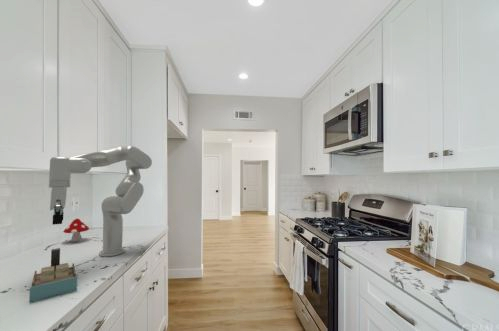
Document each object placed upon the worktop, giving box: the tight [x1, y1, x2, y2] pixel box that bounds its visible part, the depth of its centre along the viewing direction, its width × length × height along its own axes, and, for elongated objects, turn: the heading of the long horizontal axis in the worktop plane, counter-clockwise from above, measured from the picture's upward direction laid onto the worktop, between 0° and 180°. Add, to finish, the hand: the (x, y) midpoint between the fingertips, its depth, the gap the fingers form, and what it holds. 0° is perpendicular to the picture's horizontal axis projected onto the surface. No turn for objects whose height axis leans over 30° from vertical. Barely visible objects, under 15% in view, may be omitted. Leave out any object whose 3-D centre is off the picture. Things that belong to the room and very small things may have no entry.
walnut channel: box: [31, 263, 77, 287], centre depth 95 cm, size 14×13×4 cm
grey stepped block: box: [43, 247, 69, 271], centre depth 104 cm, size 3×9×10 cm, turn 130°
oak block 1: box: [40, 266, 54, 282], centre depth 93 cm, size 4×4×4 cm
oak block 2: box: [56, 263, 70, 279], centre depth 95 cm, size 4×4×4 cm
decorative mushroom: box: [62, 218, 90, 243], centre depth 153 cm, size 14×14×15 cm
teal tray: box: [29, 276, 78, 303], centre depth 86 cm, size 8×13×5 cm, turn 130°
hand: (58, 222), depth 104 cm, fingers open, 9 cm apart
